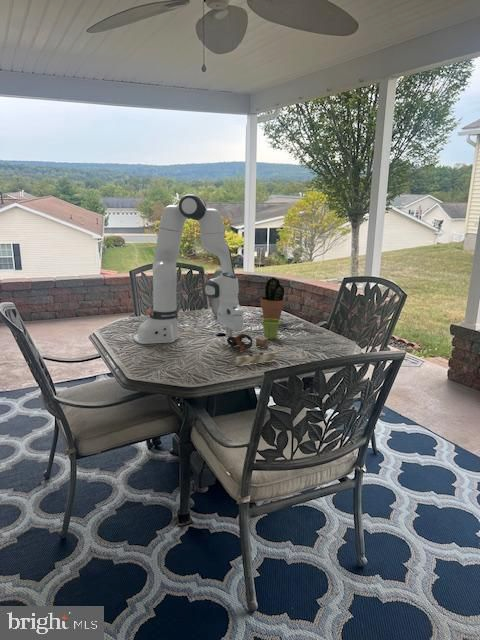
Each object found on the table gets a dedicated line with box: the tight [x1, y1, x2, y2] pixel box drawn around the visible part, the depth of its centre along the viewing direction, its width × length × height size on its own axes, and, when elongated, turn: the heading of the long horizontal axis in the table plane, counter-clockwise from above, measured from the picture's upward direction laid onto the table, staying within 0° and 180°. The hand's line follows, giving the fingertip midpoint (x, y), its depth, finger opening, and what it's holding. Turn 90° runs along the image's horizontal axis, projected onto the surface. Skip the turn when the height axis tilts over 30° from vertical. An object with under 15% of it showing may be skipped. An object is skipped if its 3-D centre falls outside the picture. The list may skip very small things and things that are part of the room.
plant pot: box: [261, 318, 281, 340], centre depth 229 cm, size 9×9×9 cm
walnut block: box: [255, 336, 269, 348], centre depth 215 cm, size 4×4×4 cm
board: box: [235, 351, 276, 365], centre depth 192 cm, size 18×2×5 cm, turn 116°
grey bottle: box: [211, 268, 222, 318], centre depth 264 cm, size 10×10×28 cm
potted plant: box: [260, 277, 285, 321], centre depth 258 cm, size 14×14×25 cm
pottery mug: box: [226, 333, 253, 352], centre depth 210 cm, size 12×10×8 cm
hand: (229, 335), depth 217 cm, fingers closed
